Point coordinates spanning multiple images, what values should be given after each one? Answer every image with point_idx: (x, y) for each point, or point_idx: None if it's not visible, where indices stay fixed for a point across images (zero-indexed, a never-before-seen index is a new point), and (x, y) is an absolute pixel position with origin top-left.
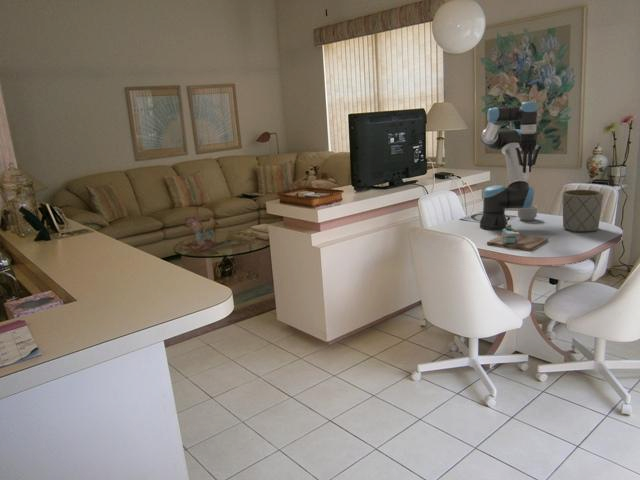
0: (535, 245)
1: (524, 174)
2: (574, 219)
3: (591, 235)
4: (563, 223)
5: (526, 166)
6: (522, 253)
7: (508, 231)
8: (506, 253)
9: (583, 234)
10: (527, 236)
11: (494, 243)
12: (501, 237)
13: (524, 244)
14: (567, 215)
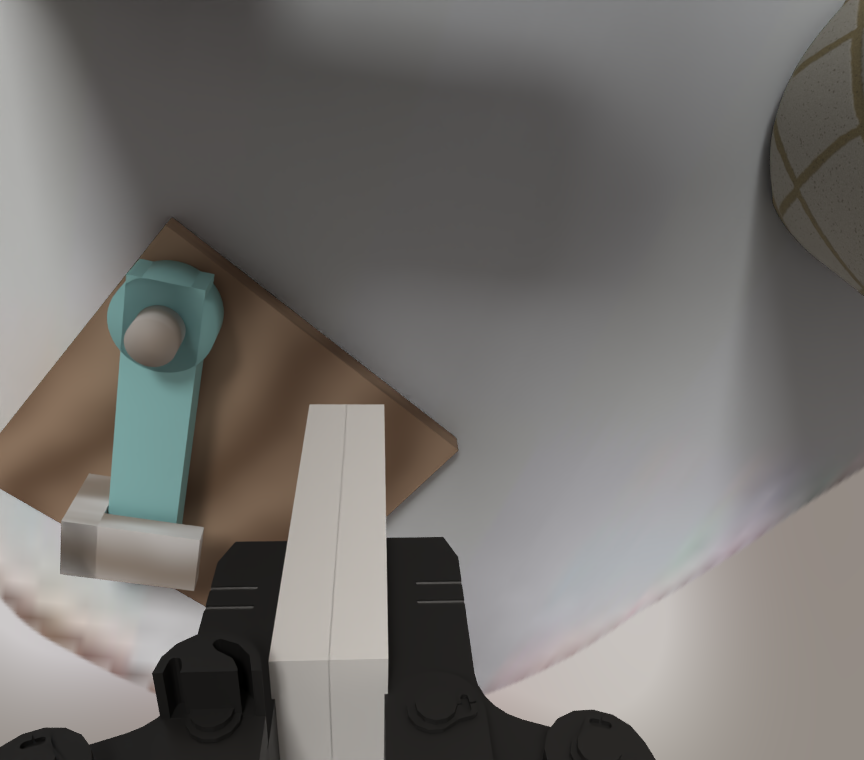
0: None
1: (300, 477)
2: (841, 272)
3: (836, 346)
4: (796, 107)
5: (313, 733)
6: None
7: (148, 393)
8: (101, 641)
9: (804, 308)
10: (323, 379)
11: (29, 501)
12: (101, 371)
13: None
14: (832, 215)
